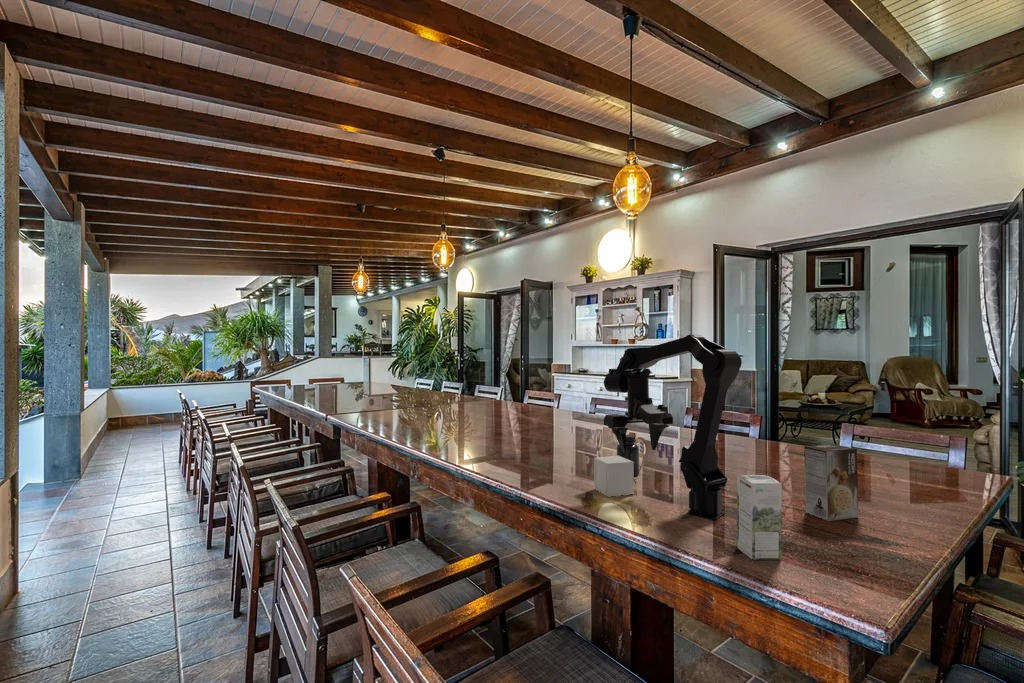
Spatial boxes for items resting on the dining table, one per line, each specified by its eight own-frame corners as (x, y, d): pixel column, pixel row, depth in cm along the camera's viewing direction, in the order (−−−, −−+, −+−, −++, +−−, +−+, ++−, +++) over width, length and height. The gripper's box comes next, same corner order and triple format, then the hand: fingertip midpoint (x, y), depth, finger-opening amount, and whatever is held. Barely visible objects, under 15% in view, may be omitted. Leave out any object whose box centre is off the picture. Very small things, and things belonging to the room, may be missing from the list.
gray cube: (618, 486, 137) (618, 455, 137) (633, 494, 130) (633, 461, 130) (594, 489, 134) (594, 457, 135) (608, 497, 127) (608, 463, 127)
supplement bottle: (637, 471, 154) (637, 434, 154) (640, 477, 147) (640, 438, 147) (615, 471, 155) (615, 433, 155) (618, 476, 148) (618, 437, 148)
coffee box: (834, 509, 118) (833, 443, 118) (859, 518, 112) (858, 448, 112) (804, 512, 115) (803, 445, 116) (828, 521, 109) (827, 450, 109)
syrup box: (764, 547, 95) (764, 473, 95) (782, 560, 89) (782, 481, 89) (736, 548, 95) (735, 473, 95) (752, 561, 89) (751, 482, 89)
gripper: (623, 397, 121) (624, 459, 121) (685, 394, 127) (687, 454, 127) (602, 394, 132) (603, 451, 131) (660, 392, 138) (661, 446, 137)
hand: (639, 451), depth 131 cm, fingers open, 9 cm apart
